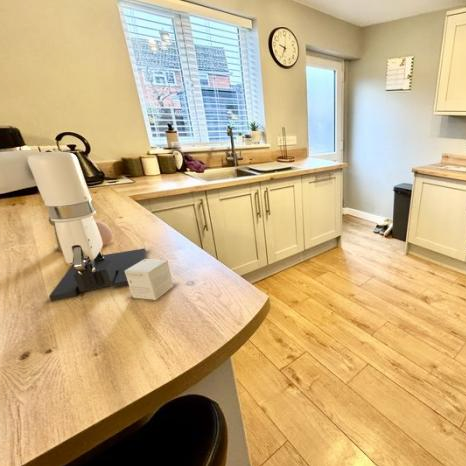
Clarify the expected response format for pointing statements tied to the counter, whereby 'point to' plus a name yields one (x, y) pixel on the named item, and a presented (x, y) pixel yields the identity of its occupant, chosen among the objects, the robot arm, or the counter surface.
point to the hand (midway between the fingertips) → (97, 279)
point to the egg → (104, 232)
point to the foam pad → (105, 272)
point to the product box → (149, 279)
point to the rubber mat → (120, 260)
